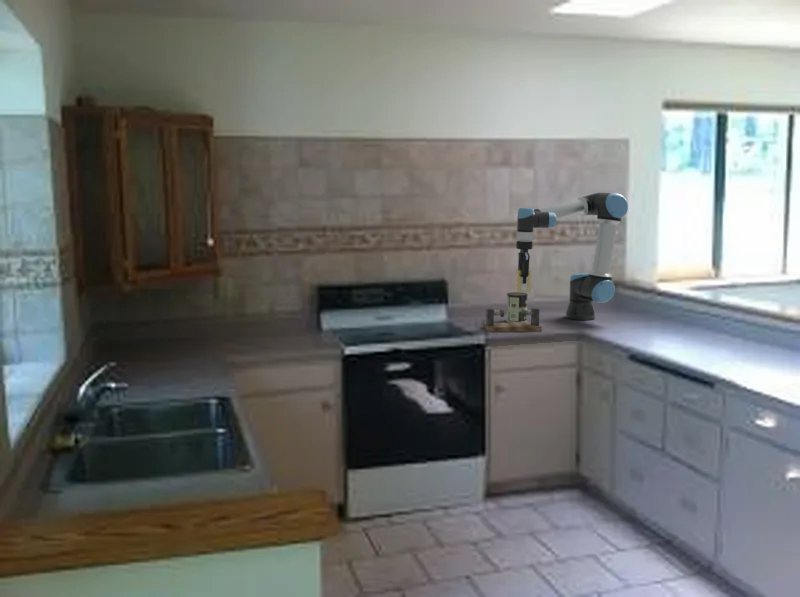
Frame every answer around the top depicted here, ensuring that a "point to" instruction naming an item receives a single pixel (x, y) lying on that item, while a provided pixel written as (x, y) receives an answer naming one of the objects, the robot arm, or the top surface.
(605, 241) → the robot arm
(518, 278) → the coupler
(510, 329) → the shaft stand
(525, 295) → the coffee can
